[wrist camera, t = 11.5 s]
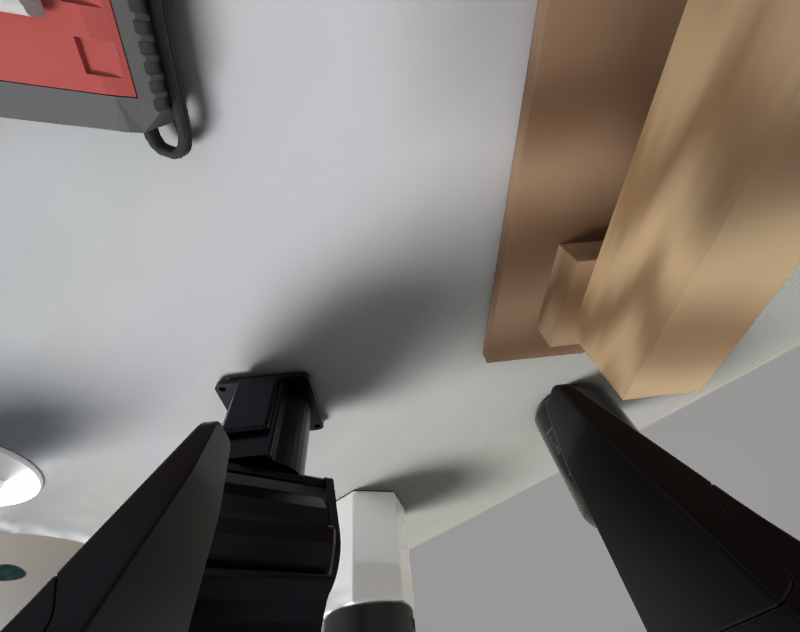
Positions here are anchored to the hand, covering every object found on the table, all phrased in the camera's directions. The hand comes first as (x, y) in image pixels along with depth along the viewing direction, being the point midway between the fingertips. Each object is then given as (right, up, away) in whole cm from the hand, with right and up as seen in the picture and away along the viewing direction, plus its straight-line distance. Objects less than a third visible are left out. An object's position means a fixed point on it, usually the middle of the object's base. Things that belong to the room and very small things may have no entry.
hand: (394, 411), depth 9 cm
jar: (-4, -19, +30) cm, 35 cm away
